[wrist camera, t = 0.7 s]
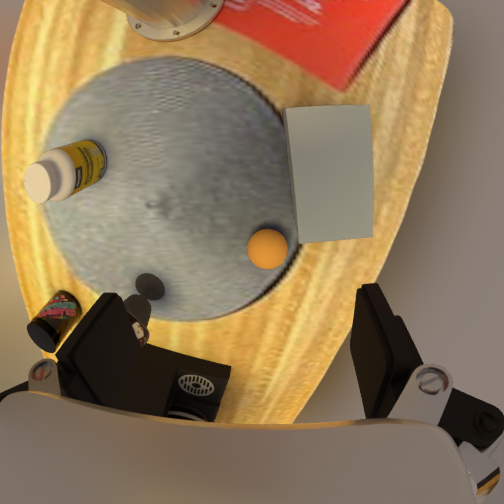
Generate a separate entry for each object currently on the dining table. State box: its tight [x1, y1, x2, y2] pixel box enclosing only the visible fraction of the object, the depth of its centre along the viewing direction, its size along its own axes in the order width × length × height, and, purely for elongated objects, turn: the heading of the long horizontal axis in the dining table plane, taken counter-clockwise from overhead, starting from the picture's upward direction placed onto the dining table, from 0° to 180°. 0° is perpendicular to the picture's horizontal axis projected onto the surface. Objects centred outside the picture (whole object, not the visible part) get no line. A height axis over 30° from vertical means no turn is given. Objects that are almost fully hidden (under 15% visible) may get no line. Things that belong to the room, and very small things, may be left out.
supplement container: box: [27, 291, 81, 353], centre depth 43 cm, size 7×7×10 cm
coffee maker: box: [113, 343, 231, 423], centre depth 41 cm, size 28×20×35 cm
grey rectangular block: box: [282, 105, 374, 244], centre depth 30 cm, size 13×8×9 cm, turn 8°
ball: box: [247, 229, 288, 269], centre depth 37 cm, size 5×5×5 cm
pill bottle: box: [24, 140, 106, 203], centre depth 30 cm, size 6×6×12 cm
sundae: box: [123, 274, 164, 347], centre depth 37 cm, size 7×7×15 cm
